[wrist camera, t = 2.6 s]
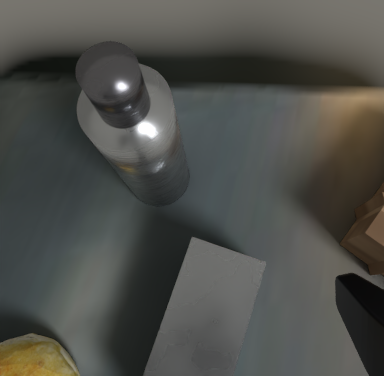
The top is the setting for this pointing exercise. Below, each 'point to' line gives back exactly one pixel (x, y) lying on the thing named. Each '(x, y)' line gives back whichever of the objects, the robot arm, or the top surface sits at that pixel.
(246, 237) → the top surface
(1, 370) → the bread roll
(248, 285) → the grey rectangular block
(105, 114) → the grey cylindrical bottle
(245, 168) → the top surface
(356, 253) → the socket block
